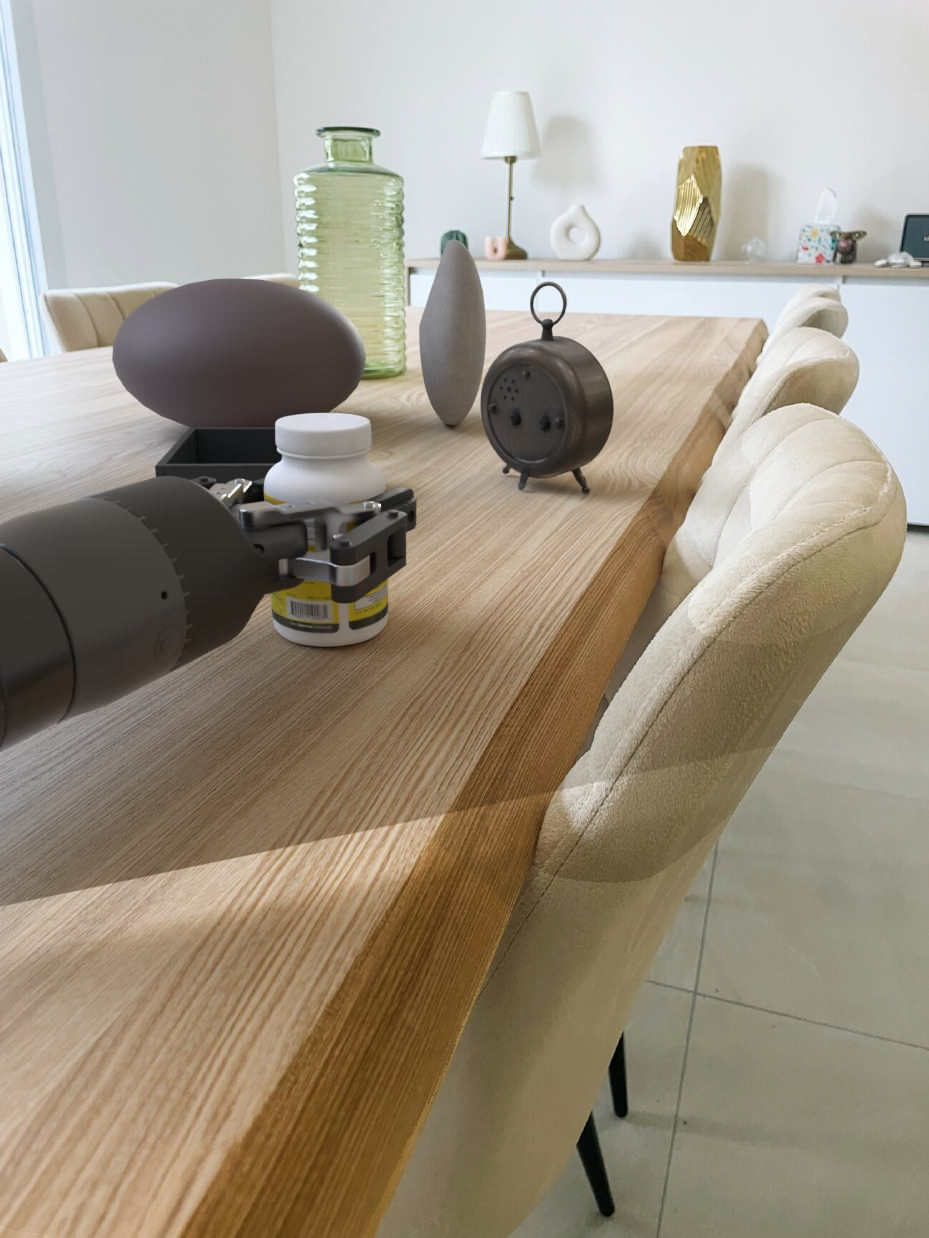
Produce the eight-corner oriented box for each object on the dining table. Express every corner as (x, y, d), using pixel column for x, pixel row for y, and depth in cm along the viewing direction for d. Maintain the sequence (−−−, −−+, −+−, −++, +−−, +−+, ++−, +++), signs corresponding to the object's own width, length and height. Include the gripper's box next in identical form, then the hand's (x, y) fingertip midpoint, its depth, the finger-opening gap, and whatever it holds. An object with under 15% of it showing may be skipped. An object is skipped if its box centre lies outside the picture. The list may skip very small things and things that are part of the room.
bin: (161, 530, 65) (154, 465, 63) (194, 482, 77) (189, 427, 75) (351, 528, 66) (349, 465, 64) (354, 481, 78) (352, 427, 76)
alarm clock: (610, 493, 76) (627, 284, 70) (572, 506, 73) (586, 286, 66) (507, 470, 83) (514, 277, 77) (467, 480, 79) (471, 279, 73)
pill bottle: (370, 600, 54) (368, 407, 49) (403, 642, 48) (403, 429, 44) (262, 612, 51) (250, 411, 47) (284, 657, 46) (272, 436, 42)
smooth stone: (355, 459, 86) (351, 288, 80) (84, 454, 86) (59, 282, 80) (376, 410, 109) (374, 275, 103) (162, 406, 108) (148, 270, 102)
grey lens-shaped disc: (421, 407, 111) (421, 238, 103) (480, 408, 111) (484, 239, 104) (416, 440, 94) (416, 240, 86) (486, 441, 94) (492, 242, 86)
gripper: (247, 531, 31) (475, 443, 45) (-35, 473, 37) (242, 411, 51) (261, 727, 34) (471, 588, 48) (-3, 644, 40) (251, 542, 54)
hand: (352, 497), depth 49 cm, fingers closed on pill bottle, 6 cm apart
